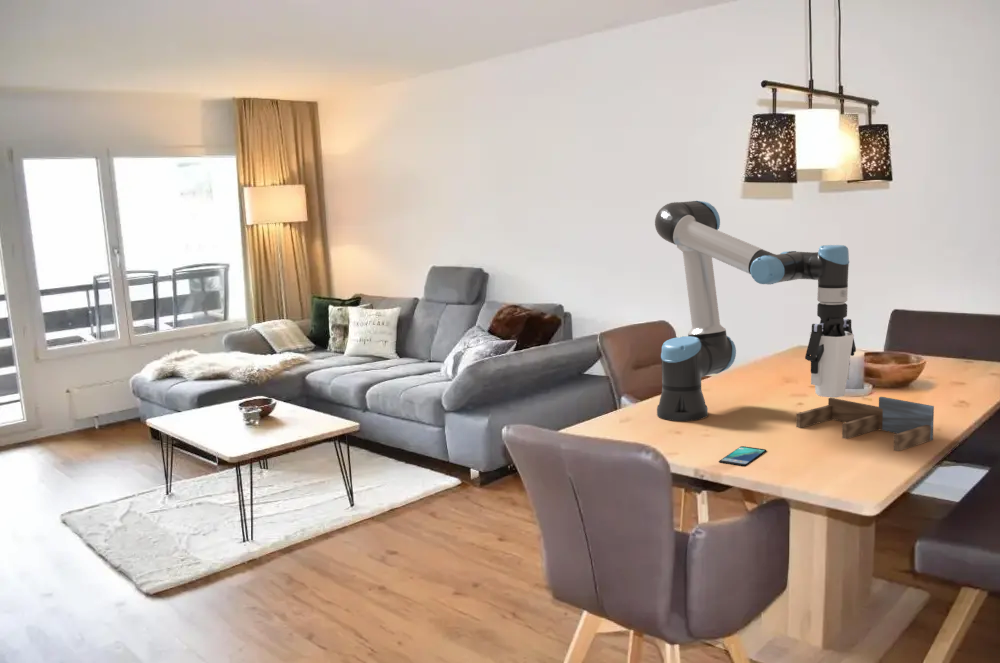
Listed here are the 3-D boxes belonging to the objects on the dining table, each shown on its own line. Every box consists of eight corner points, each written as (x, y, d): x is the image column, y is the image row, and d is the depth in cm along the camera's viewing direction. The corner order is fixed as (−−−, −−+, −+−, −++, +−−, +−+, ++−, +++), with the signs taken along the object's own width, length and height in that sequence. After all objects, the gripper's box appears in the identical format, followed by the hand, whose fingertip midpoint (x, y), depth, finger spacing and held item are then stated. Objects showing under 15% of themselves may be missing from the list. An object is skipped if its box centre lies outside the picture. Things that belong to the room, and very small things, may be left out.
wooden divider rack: (898, 451, 206) (898, 416, 205) (796, 427, 232) (796, 396, 230) (932, 439, 214) (933, 406, 212) (830, 417, 240) (831, 387, 238)
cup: (804, 396, 225) (805, 335, 222) (813, 388, 233) (814, 329, 231) (847, 400, 219) (849, 337, 216) (855, 392, 227) (857, 331, 224)
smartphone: (717, 461, 204) (741, 445, 216) (717, 464, 204) (741, 448, 216) (745, 465, 200) (767, 449, 211) (745, 468, 200) (767, 452, 212)
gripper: (815, 308, 213) (813, 390, 216) (871, 299, 225) (869, 377, 229) (791, 305, 219) (790, 385, 223) (847, 297, 231) (845, 373, 235)
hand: (830, 381), depth 226 cm, fingers closed on cup, 11 cm apart
